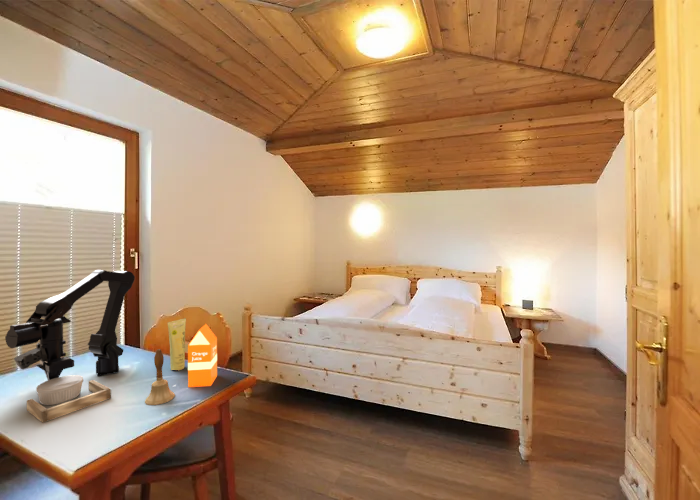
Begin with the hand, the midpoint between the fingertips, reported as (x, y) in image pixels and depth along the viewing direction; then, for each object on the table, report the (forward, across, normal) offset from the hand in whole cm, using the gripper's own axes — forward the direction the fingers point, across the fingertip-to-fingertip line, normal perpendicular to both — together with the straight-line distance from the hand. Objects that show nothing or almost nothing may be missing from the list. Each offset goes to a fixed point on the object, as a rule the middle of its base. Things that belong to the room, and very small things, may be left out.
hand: (52, 385), depth 106 cm
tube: (+3, +15, +33) cm, 37 cm away
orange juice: (+2, +34, +32) cm, 47 cm away
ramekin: (+3, +7, 0) cm, 8 cm away
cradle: (+2, +14, 0) cm, 14 cm away
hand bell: (+3, +34, +17) cm, 38 cm away
